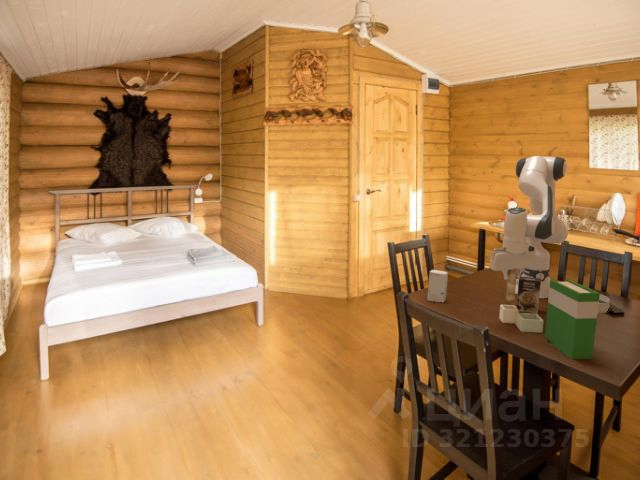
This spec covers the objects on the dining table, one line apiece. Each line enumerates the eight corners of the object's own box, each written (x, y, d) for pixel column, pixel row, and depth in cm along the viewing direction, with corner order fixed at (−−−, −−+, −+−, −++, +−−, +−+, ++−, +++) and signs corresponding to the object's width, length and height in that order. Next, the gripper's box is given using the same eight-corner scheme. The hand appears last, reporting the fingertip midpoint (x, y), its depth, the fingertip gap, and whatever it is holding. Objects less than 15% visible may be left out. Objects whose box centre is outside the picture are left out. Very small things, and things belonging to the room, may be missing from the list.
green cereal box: (544, 339, 173) (550, 279, 169) (563, 338, 174) (569, 279, 169) (571, 359, 156) (578, 293, 152) (592, 358, 156) (599, 293, 152)
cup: (499, 319, 194) (500, 304, 192) (513, 320, 193) (514, 305, 191) (502, 324, 188) (503, 309, 187) (517, 325, 187) (518, 309, 186)
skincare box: (426, 300, 220) (428, 271, 217) (429, 297, 225) (431, 269, 222) (444, 303, 216) (445, 273, 213) (446, 299, 221) (448, 271, 219)
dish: (594, 299, 222) (595, 290, 221) (619, 314, 201) (620, 304, 200) (548, 298, 224) (549, 288, 223) (568, 313, 203) (569, 302, 202)
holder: (515, 326, 186) (516, 312, 185) (535, 327, 185) (536, 313, 184) (520, 333, 178) (522, 319, 177) (542, 334, 177) (543, 320, 176)
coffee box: (515, 313, 202) (518, 278, 199) (516, 308, 208) (519, 275, 205) (537, 316, 198) (540, 281, 195) (538, 311, 204) (541, 277, 201)
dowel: (504, 298, 191) (507, 264, 188) (513, 298, 190) (516, 264, 187) (506, 300, 187) (508, 266, 184) (515, 301, 187) (518, 266, 184)
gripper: (496, 250, 179) (494, 283, 182) (540, 247, 184) (537, 279, 186) (487, 247, 185) (485, 279, 188) (529, 244, 190) (527, 275, 192)
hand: (511, 279), depth 187 cm, fingers closed on dowel, 3 cm apart
